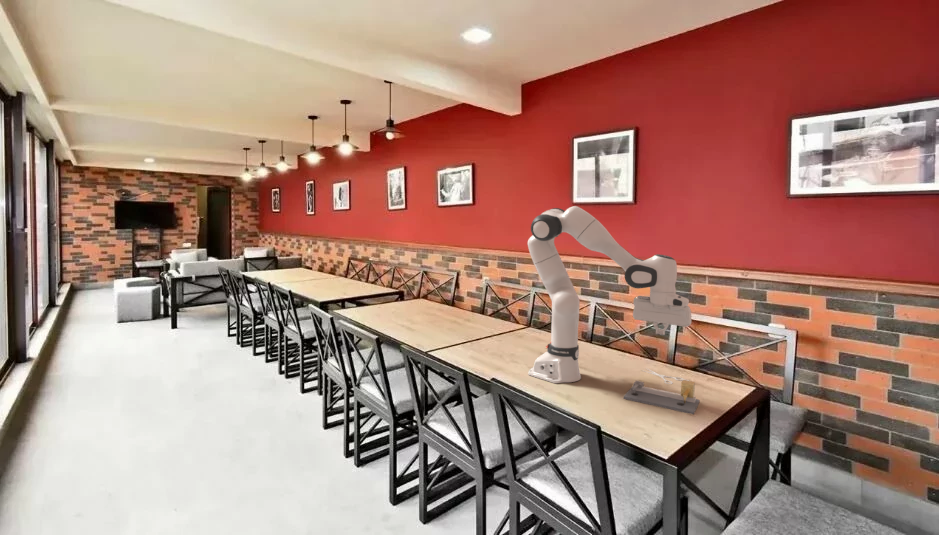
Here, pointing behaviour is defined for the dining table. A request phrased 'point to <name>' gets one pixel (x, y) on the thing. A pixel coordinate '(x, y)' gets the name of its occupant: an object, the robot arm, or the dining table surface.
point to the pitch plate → (661, 398)
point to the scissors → (666, 376)
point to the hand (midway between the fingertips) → (660, 334)
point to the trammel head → (687, 389)
